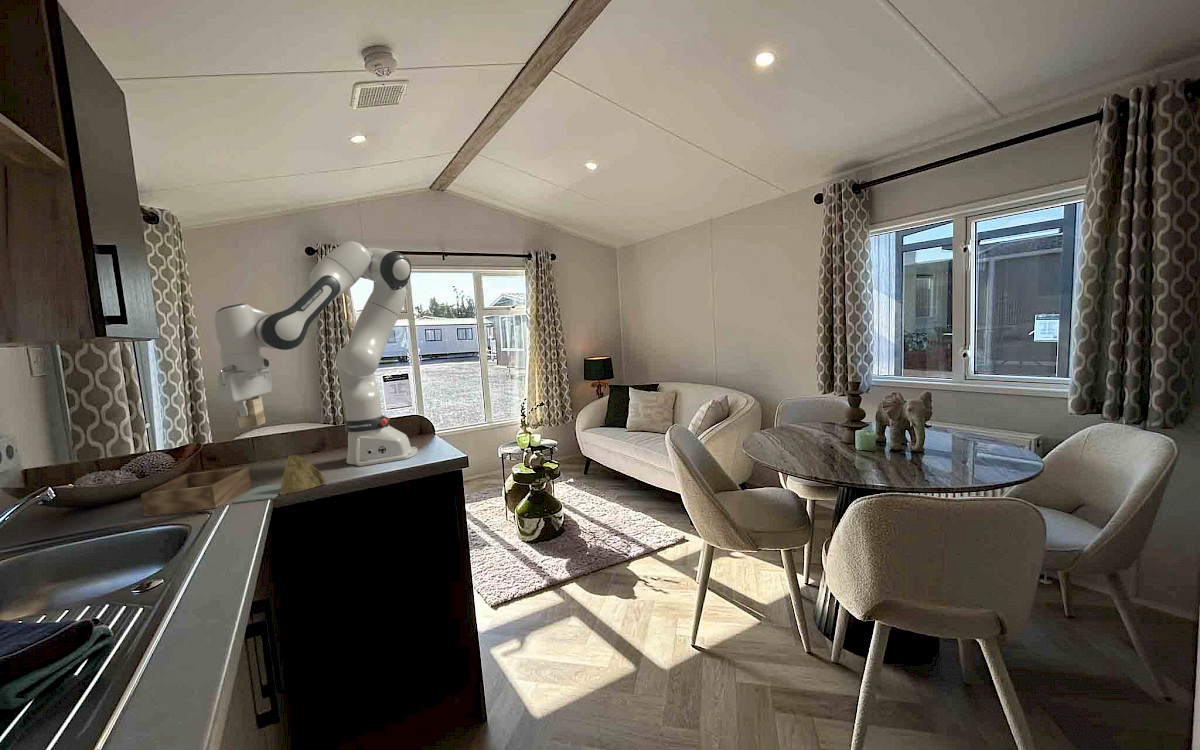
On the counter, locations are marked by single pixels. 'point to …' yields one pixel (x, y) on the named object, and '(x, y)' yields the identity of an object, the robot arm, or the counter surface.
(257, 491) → the mat
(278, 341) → the robot arm
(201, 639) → the counter surface
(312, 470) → the rock
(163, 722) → the counter surface
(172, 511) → the crate
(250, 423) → the block
